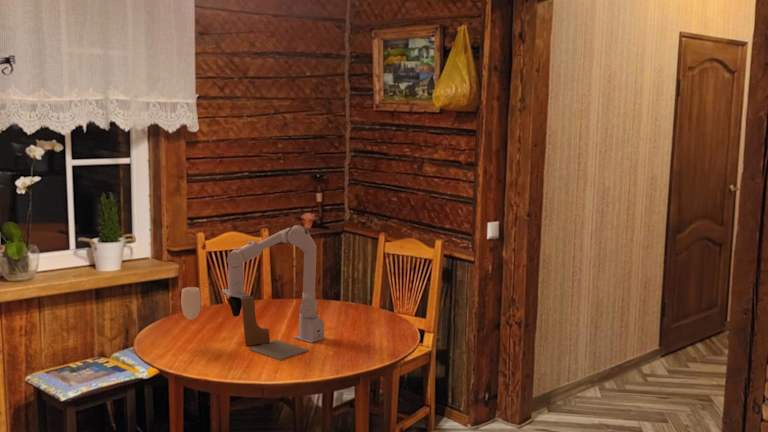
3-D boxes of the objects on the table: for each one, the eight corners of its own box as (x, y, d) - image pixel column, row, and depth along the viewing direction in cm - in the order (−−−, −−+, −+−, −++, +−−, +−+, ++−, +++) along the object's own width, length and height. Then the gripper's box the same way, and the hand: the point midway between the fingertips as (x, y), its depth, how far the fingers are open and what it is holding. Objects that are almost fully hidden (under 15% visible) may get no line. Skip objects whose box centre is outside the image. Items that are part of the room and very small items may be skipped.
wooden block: (269, 339, 291) (265, 294, 288) (269, 343, 286) (265, 297, 283) (245, 342, 289) (241, 296, 286) (245, 345, 285) (241, 299, 282)
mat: (308, 351, 281) (308, 349, 281) (280, 360, 270) (280, 359, 270) (276, 341, 291) (276, 339, 291) (248, 349, 281) (248, 348, 281)
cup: (205, 340, 290) (204, 287, 287) (195, 346, 283) (194, 292, 280) (188, 338, 292) (187, 286, 289) (178, 344, 285) (176, 290, 282)
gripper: (215, 280, 294) (216, 314, 296) (240, 286, 285) (240, 321, 287) (230, 277, 299) (230, 310, 301) (254, 283, 290) (254, 317, 292)
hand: (236, 315), depth 294 cm, fingers closed
